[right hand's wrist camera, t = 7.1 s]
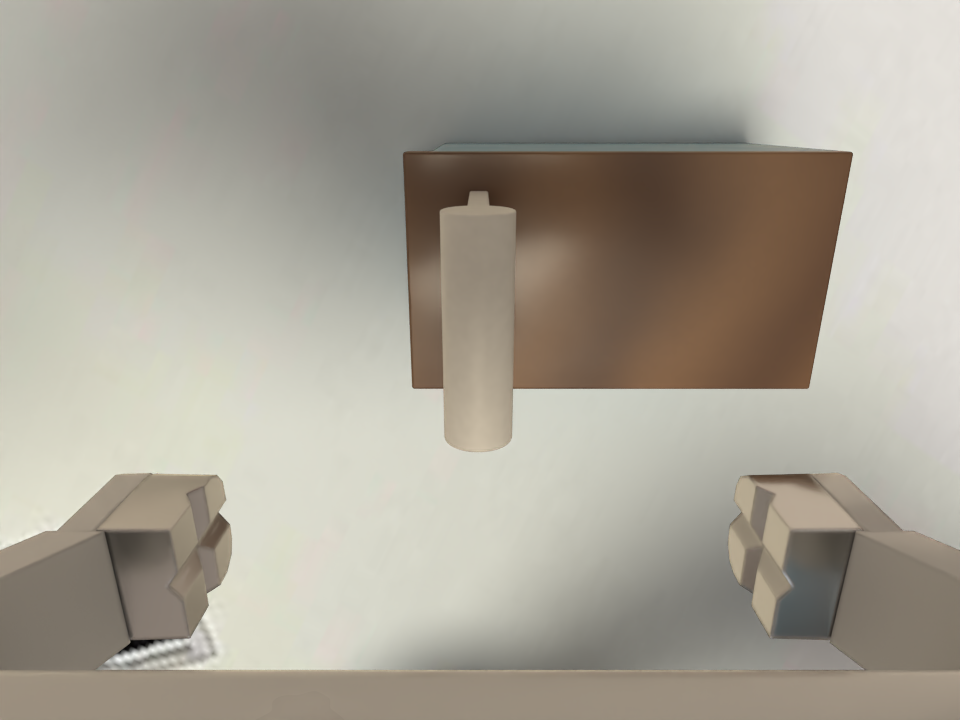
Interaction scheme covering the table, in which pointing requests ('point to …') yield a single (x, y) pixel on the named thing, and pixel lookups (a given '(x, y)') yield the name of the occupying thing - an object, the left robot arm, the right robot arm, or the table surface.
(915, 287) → the table surface
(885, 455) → the table surface
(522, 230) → the lid
